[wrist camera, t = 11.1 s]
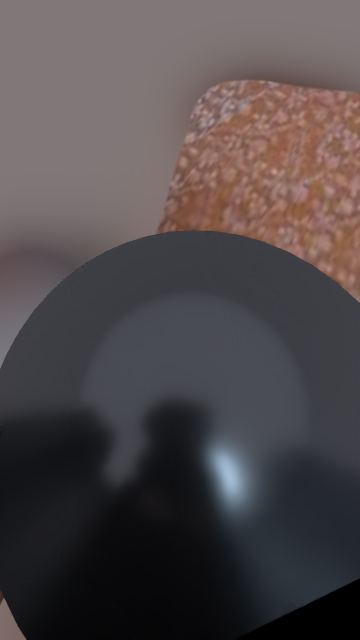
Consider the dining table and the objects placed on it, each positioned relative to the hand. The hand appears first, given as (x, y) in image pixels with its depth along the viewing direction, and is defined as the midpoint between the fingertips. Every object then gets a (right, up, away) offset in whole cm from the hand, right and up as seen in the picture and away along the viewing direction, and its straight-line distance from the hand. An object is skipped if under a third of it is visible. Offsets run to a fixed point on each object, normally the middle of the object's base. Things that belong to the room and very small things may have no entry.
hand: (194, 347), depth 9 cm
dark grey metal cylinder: (+1, -3, +8) cm, 9 cm away
